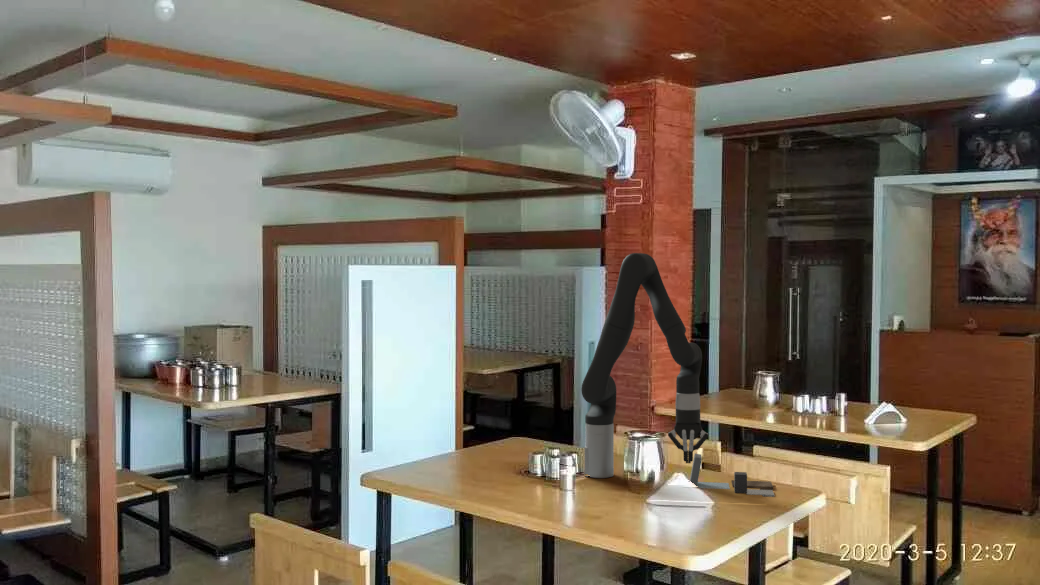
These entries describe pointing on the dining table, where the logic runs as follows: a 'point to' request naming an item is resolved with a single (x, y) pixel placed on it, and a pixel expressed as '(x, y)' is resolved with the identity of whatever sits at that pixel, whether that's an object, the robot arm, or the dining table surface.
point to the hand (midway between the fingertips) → (688, 462)
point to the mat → (713, 485)
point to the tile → (696, 468)
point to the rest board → (758, 485)
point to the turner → (741, 486)
